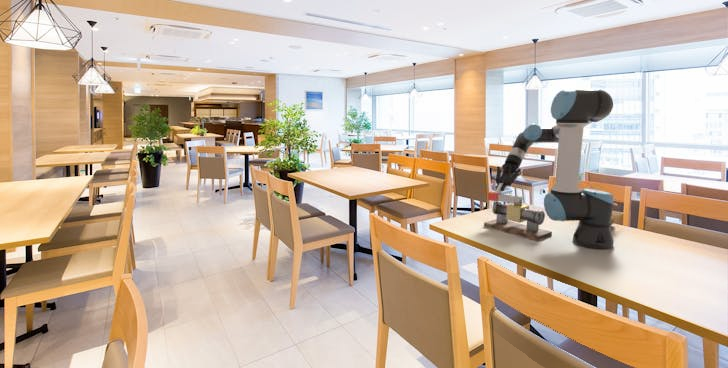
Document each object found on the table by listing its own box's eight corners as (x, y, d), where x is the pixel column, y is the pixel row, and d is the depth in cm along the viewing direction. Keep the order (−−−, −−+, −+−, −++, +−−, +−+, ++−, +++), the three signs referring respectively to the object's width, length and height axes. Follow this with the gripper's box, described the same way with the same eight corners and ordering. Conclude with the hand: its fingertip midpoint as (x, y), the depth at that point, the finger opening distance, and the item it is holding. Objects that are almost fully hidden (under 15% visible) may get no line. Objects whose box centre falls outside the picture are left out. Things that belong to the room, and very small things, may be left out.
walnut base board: (551, 235, 178) (551, 231, 178) (537, 241, 171) (537, 236, 171) (498, 222, 200) (498, 218, 200) (483, 226, 193) (484, 222, 193)
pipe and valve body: (543, 231, 178) (545, 209, 176) (535, 234, 174) (537, 211, 172) (499, 220, 197) (501, 200, 195) (491, 222, 193) (492, 202, 191)
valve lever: (523, 204, 183) (524, 196, 183) (520, 206, 181) (520, 197, 180) (491, 199, 196) (491, 191, 195) (487, 200, 193) (487, 192, 192)
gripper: (529, 164, 199) (511, 201, 191) (505, 161, 208) (487, 197, 201) (525, 155, 194) (506, 193, 187) (500, 152, 204) (482, 188, 196)
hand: (496, 195), depth 194 cm, fingers closed
